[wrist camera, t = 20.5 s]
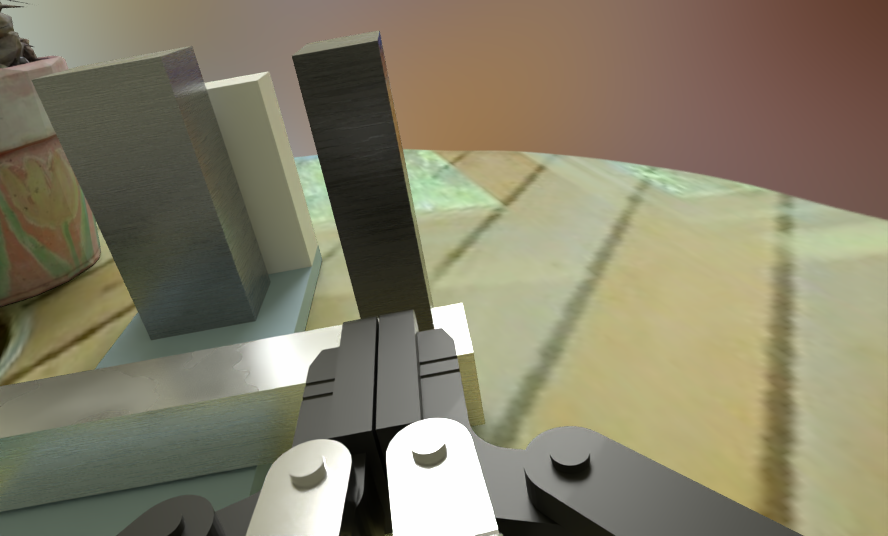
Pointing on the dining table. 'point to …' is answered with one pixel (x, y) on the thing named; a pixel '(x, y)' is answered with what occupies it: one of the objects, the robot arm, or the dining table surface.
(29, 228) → the potted plant
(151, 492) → the vise
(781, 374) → the dining table surface
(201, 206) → the steel block
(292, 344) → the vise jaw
